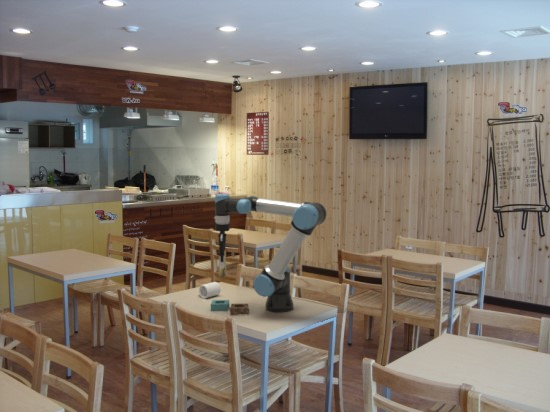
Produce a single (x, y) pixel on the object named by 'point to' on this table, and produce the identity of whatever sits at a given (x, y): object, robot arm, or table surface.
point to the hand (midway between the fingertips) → (222, 266)
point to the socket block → (219, 305)
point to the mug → (209, 290)
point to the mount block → (239, 309)
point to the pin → (222, 270)
